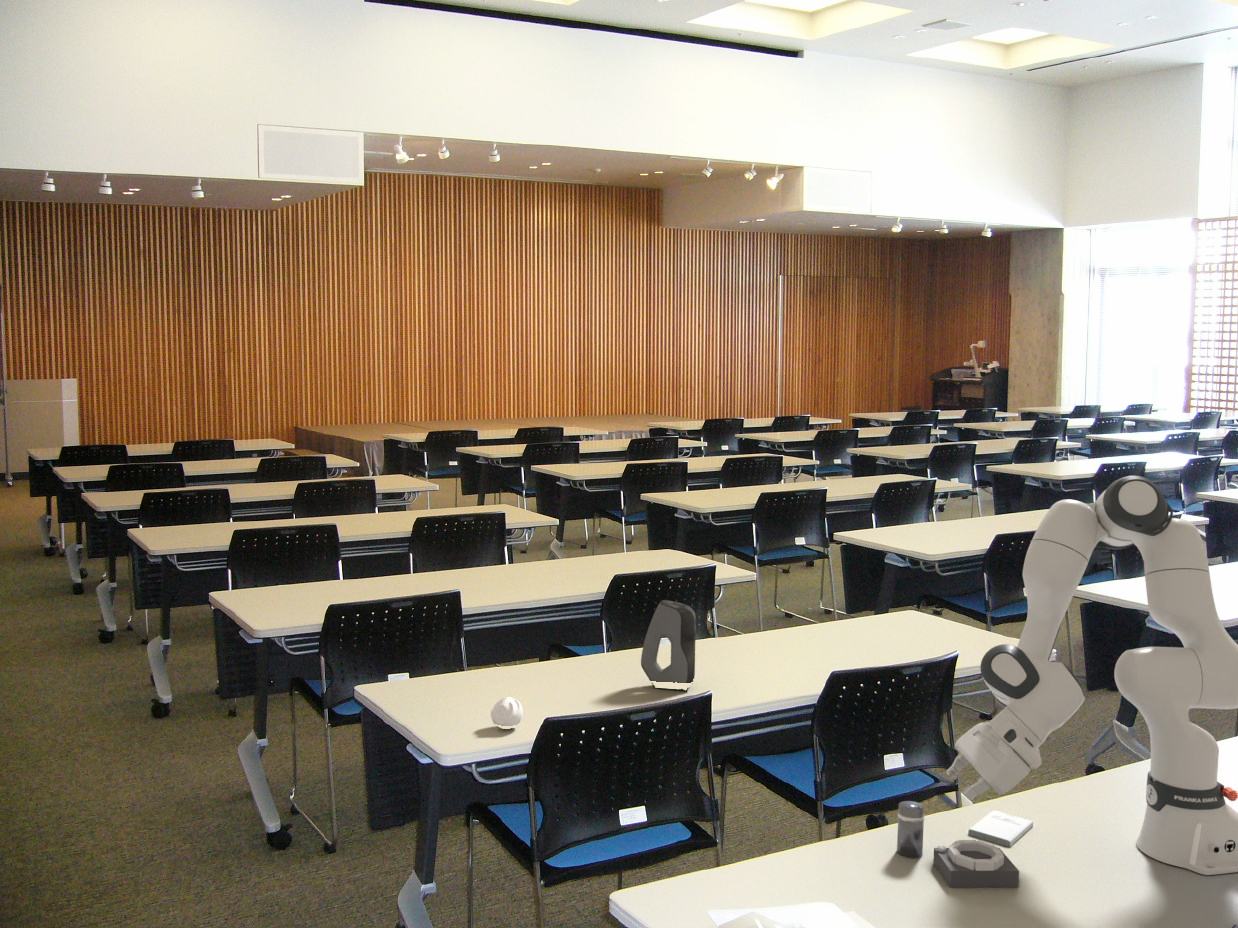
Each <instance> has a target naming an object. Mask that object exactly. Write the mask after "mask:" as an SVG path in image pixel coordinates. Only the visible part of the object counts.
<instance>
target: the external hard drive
mask: <svg viewBox="0 0 1238 928" xmlns="http://www.w3.org/2000/svg"><path fill="white" fill-rule="evenodd" d="M1033 827H1034V821H1033V820H1031V819H1027V818H1025V817H1020V816H1017V815H1013V814H1009V813H1007V812H1004V811H1003V812H1002V811H999V810H996V809H995V810H991V811H990V812H989V813H987V814H986V815H985V816H983V818H981V819H980V820H979V821H977V823H975V824H973V825H972V826H971V827H970V828H968V832H967V833H968V835H969V836H971V837H972V836H973V837H976V838H979V839H983V840H987V841H989V842H993V843H997V844H1000V845H1003V846H1007V847H1009V848H1011V847H1012V846H1013V845H1014V844H1015V843H1016V842H1017V841H1019V839H1021V837H1023V836H1024V835H1025V834H1026V833H1027V832H1028V831H1030V829H1031V828H1033Z"/></svg>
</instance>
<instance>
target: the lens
mask: <svg viewBox="0 0 1238 928" xmlns="http://www.w3.org/2000/svg"><path fill="white" fill-rule="evenodd" d="M925 816H926V815H925V806H924V805H923V804H922V803H920V802H917V801H913V800H903V801H900V802H899V803H898V810H897V840H896V852H897V854H898V855H900V856H901V857H903V858H907V859H918V858H921V857H922V856H923V853H924V851H923V849H924V848H923V847H924V846H923V845H924V828H925V827H924V826H925V825H924V824H925V823H924V821H925Z"/></svg>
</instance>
